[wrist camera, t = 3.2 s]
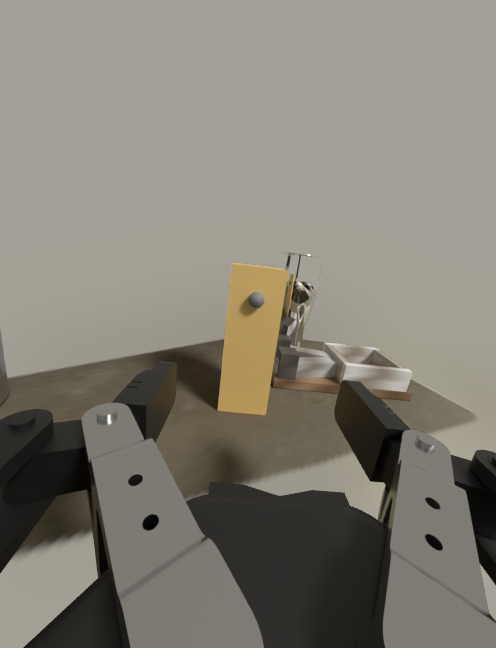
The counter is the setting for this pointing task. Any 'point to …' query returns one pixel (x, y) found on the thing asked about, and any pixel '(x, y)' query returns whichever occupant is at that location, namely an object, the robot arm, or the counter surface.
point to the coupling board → (339, 369)
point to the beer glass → (298, 292)
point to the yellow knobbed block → (251, 337)
